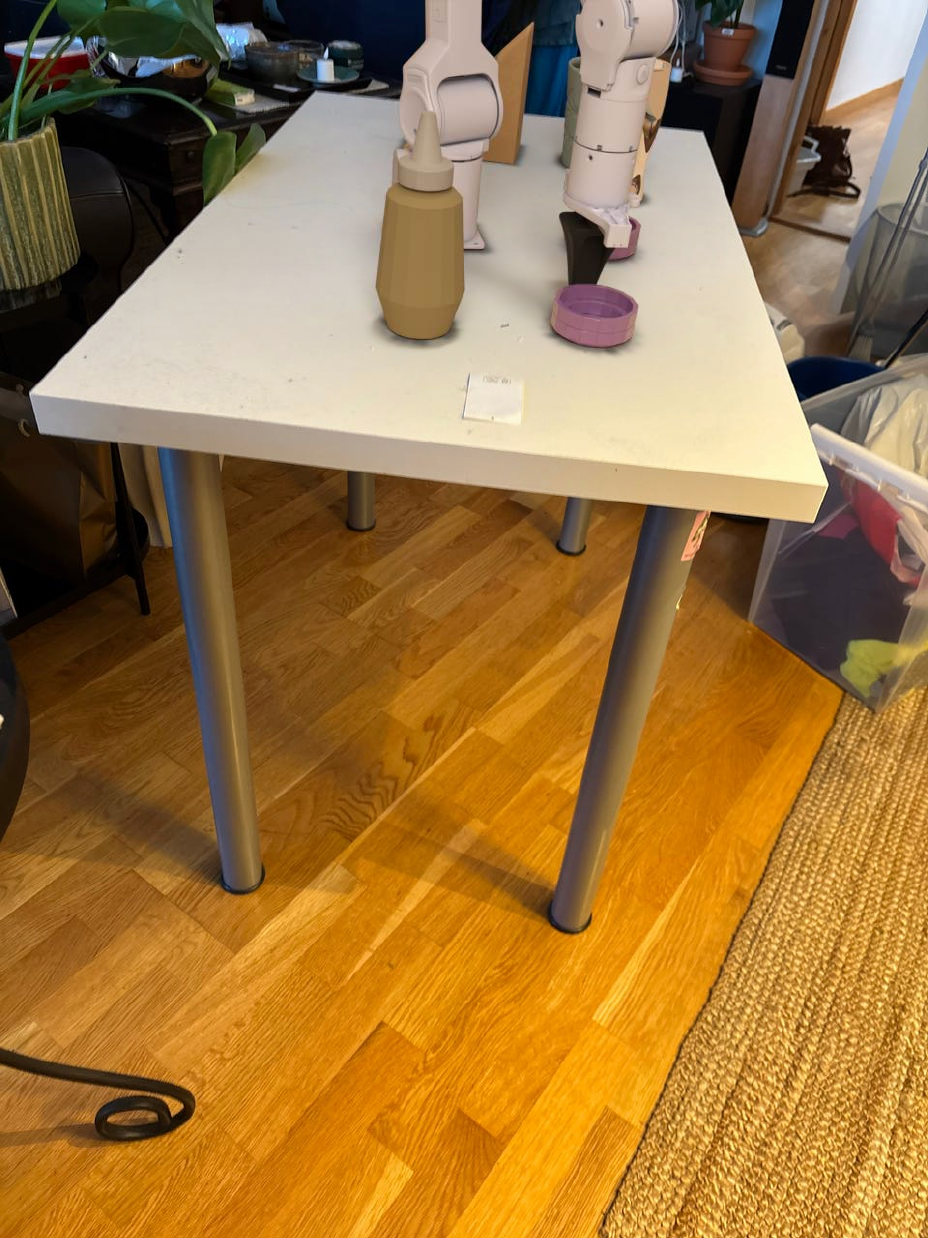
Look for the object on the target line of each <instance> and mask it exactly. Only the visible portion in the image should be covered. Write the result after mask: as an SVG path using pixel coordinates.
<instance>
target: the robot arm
mask: <svg viewBox="0 0 928 1238" xmlns="http://www.w3.org/2000/svg"><path fill="white" fill-rule="evenodd" d="M579 1H580V5H581V7H582V9H581V12H579V13H577V14H576V16H575V36H576V41H577V45H578V48H579V52H580V57H581V65H580V72H579V74H581V81H582V83H583V84H582V91H581V98H580V104H579V111H578V118H577V124H576V131H575V137H574V144H573V150H572V157H571V164H570V169H569V168H566V169H565V175H564V182H563V188H562V189H563V196H562V202H563V204H564V205H566V207H568V208H569V209H571V210H572V211H562V212H560V213H559V214H558V219H559V223H560V225H561V228H562V233H563V237H564V242H565V250H566V261H567V262H566V263H567V286H569V285H574V284H596V285H598V282H599V280H600V277H601V276H602V274H603V271H604V269H605V266H606V265H607V263H608V261H609V260H608V259H609V257H610V256H611V254H612V253H613V251H614V250H615V248H627V247H628V244H629V239H630V234H631V229H632V225H631V224H630V222H629V216H630V209H631V208H639V207H640V205H641V202H642V200H641V199H640V198H639V197H638V196H637V194H635V193H631V192H630V189H631V184H632V179H633V174H634V169H635V164H636V158H637V153H638V148H639V144H640V138H641V133H642V128H643V123H644V118H645V113H646V108H647V103H648V97H649V92H650V87H651V82H652V77H653V72H654V67H655V62H656V58H658V57H660V56H662V55H663V54H664V53H666V51H667V50H668V49H669V48H670V46H671V45H672V43H673V41H674V39H675V36H676V33H677V30H678V26H679V18H680V17H679V16H680V15H679V14H680V11H679V3H678V0H579ZM482 2H483V0H425V3H424V5H425V40H424V42H423V43H422V44H421V46H420V47H419V48H418V49H417V50H416V51H415V52H414V53H413V55H412V56H411V57H410V58H409V59H408V60H407V61H406V62H405V64H403V67H402V74H403V75H402V76H403V78H402V79H403V80H402V81H403V82H402V90H401V94H400V97H399V100H398V101H399V102H398V107H397V108H398V109H397V115H398V116H397V117H398V123H399V127H400V131H401V133H402V136H403V138H404V139H405V141H406V142H407V143H408V144H409V148H405V149H403V148H396V149H394V151H393V156H392V166H391V167H392V168H391V169H392V172H391V186H392V185H394V184H395V183H397V182H399V181H398V161H399V159H400V157H402V156H404V155H408V154H412V150H413V145H414V141H415V137H416V133H417V129H418V124H419V120H420V116H421V112H422V111H433V112H435V113H436V117H437V125H438V132H439V139H440V146H441V154H442V157H445V158H447V159H449V160H451V161H452V162H453V164H454V176H453V184H452V186H453V187H454V188H455V189H456V190H457V191H458V192H459V193H460V194H461V196H462V197H463V233H464V250H484V249H485V248H486V243H485V241H484V239H483V237H482V236H481V234H480V232H479V230H478V228H477V226H478V225H477V224H478V214H479V203H480V190H481V181H482V180H481V179H482V170H483V169H482V168H483V160H482V158H483V152H486V151H488V149H489V141H490V140H492V139H493V138H494V137H495V136H496V135H497V134H498V132H499V130H500V127H501V124H502V120H503V100H502V96H501V92H500V88H499V82H498V63H497V61H496V60H495V59H494V57H495V56H493V55H492V54H491V52H490V51H489V50H488V49H487V48H486V47H485V46H484V44H483V42H482V5H483V4H482Z"/></svg>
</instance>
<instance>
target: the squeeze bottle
mask: <svg viewBox="0 0 928 1238" xmlns="http://www.w3.org/2000/svg"><path fill="white" fill-rule="evenodd" d="M453 176H454V164H453V162H452V161H451V160H449V159H447V158H445V157H442V154H441V146H440V139H439V132H438V125H437V117H436V113H435V112H433V111H422V112H421V116H420V120H419V124H418V129H417V133H416V137H415V141H414V145H413V150H412V154H408V155H404V156H402V157H400V159H399V161H398V181H399V182H397V183H395V184H394V185H392V184H391V185H390V187H388V189H387V190H386V193H385V198H384V199H385V200H384V209H383V216H382V217H383V218H382V227H381V233H380V234H381V235H380V243H379V252H378V260H377V262H378V263H377V269H376V276H375V277H376V278H375V286H374V287H375V291H376V293H377V297H378V300H379V303H380V306H381V309H382V313H383V315H384V316H383V317H384V318H385V323H386V325H387V328H389V330H390V331H392V332H393V333H395V334H396V335H399V336H402V337H405V338H408V339H417V340H427V339H428V340H429V339H436V338H439V337H441V336H444V335H445V334H447V333H448V332H449V331H450V329H451V326H452V324H453V322H454V319H455V317H456V314H457V312H458V310H459V307H460V305H461V303H462V301H463V298H464V295H465V290H466V289H465V288H466V287H465V249H464V233H463V197H462V196H461V194H460V193H459V192H458V191H457V190H456V189H455V188H454V187H453V186H452V184H453Z"/></svg>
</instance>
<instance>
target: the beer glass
mask: <svg viewBox="0 0 928 1238" xmlns="http://www.w3.org/2000/svg"><path fill="white" fill-rule="evenodd" d="M671 70H672V64H671V63H669V61H666V60H664V59H660V58H658V57H656V62H655V67H654V72H653V77H652V82H651V87H650V92H649V97H648V103H647V108H646V113H645V118H644V123H643V128H642V133H641V138H640V144H639V148H638V153H637V158H636V164H635V169H634V174H633V179H632V184H631V189H630V192H631V193H635V194H637V196H638V197H639V198H640V199H641V201H642V200H643V195H644V178H645V177H644V176H645V171H646V166H647V163H648V160H649V157H650V154H651V151H652V149H653V146H654V143H655V141H656V138H657V135H658V133H659V130H660V126H661V124H662V120H663V118H664V117H663V116H664V112H665V109H666V104H667V98H668V93H669V85H670V78H671V77H670V76H671Z"/></svg>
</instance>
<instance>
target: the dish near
mask: <svg viewBox="0 0 928 1238" xmlns="http://www.w3.org/2000/svg"><path fill="white" fill-rule="evenodd" d="M638 310H639V303H638V302H637V301H636V300H635V298H634V297H633V296H631V295H630V294H628V293H626V292H625V291H622V290H620V289H617V288H614V287H611V286H607V285H602V284H597V285H596V284H574V285H565V286H563V287H562V288H559V289H558V290H557V291H556V292H555V295H554V297H553V305H552V311H551V317H550V325H551V327H552V328H553V330H554V331H555V332H556V333H557V334H559V335H560V336H561V337H563V338H565V339H566V340H567V341H569V342H572V343H574V344H576V345H581V346H583V347H584V346H585V347H591V348H608V347H613V346H617V345H620V344H623V343H626V342H627V341H628V340H630V339H631V338H632V337H633V334H634V331H635V330H634V329H635V324H636V320H637V316H638V312H639V311H638Z"/></svg>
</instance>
